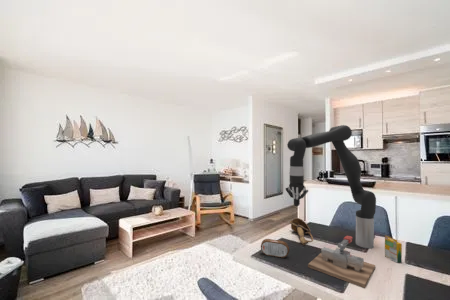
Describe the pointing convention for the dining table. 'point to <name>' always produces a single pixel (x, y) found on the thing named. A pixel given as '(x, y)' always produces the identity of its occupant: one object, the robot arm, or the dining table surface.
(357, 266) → the steel pipe and valve
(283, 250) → the tin
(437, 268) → the dining table surface
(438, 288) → the dining table surface
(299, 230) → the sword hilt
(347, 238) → the lever
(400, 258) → the crayon box
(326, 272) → the walnut board
